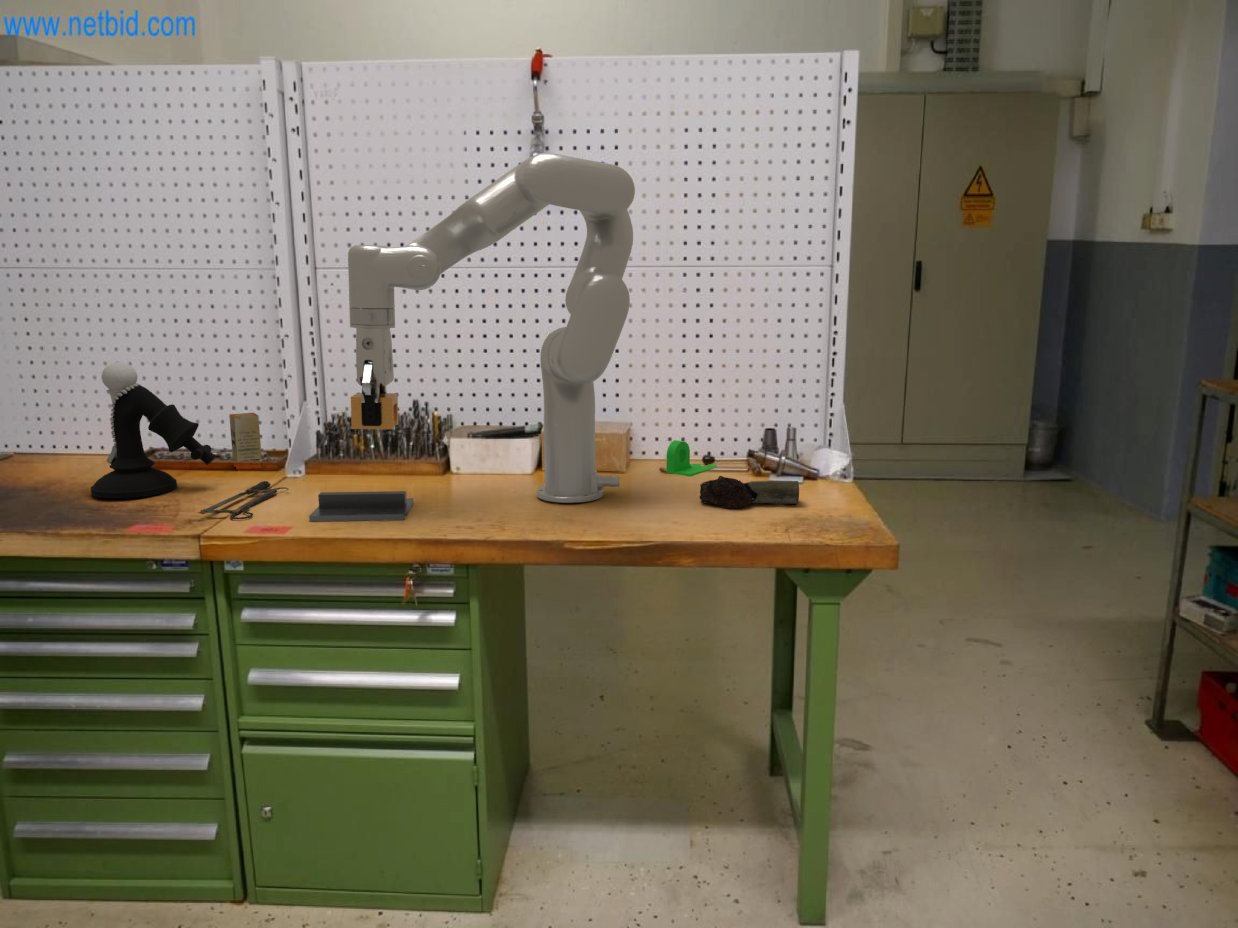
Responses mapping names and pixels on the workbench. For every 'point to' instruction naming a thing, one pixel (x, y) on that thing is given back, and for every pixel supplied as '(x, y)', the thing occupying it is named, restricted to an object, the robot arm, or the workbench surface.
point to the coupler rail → (361, 513)
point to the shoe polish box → (245, 436)
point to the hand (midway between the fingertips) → (375, 421)
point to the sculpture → (128, 453)
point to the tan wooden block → (387, 411)
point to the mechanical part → (683, 460)
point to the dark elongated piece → (748, 492)
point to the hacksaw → (254, 489)
